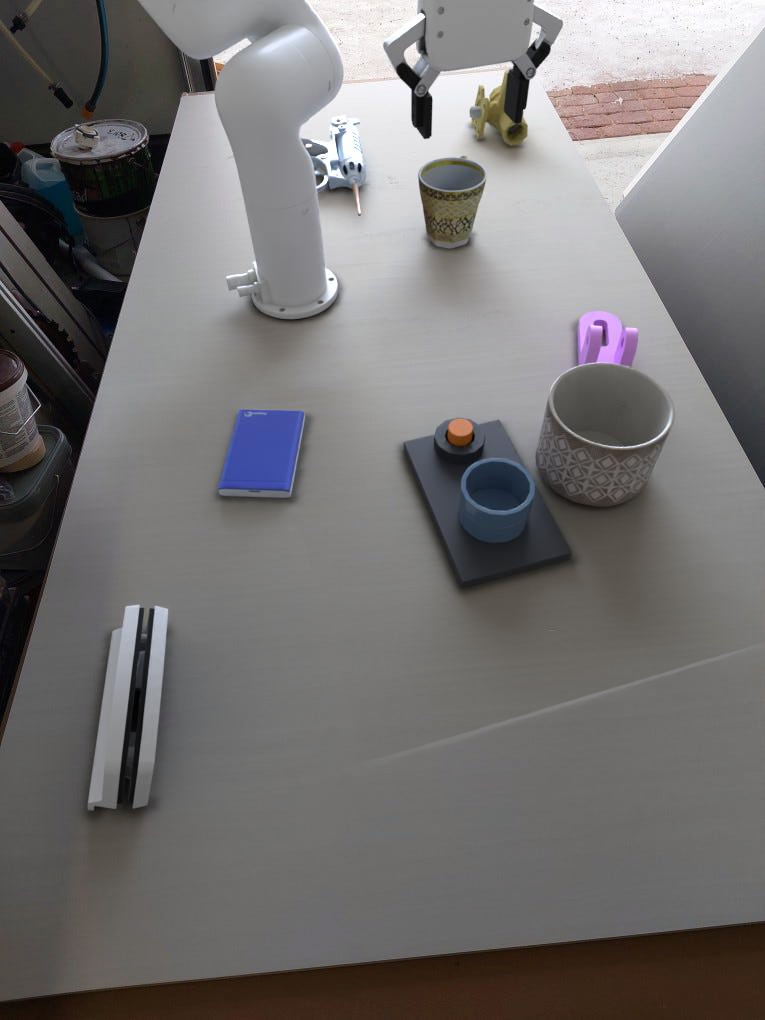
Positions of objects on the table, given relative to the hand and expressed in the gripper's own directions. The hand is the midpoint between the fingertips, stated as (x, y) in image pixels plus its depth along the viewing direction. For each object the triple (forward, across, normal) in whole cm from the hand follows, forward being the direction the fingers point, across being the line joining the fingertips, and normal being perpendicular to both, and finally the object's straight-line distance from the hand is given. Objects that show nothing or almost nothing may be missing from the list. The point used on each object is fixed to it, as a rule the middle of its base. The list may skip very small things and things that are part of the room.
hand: (468, 125), depth 70 cm
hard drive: (+28, +28, +12) cm, 42 cm away
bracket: (+28, -18, +7) cm, 34 cm away
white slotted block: (+28, +44, +40) cm, 66 cm away
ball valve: (+28, -28, -55) cm, 68 cm away
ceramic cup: (+28, -9, -26) cm, 40 cm away
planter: (+28, -8, +25) cm, 39 cm away
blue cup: (+27, +6, +29) cm, 40 cm away
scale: (+28, +6, +26) cm, 39 cm away
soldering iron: (+28, +7, -48) cm, 56 cm away
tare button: (+26, +6, +18) cm, 32 cm away
